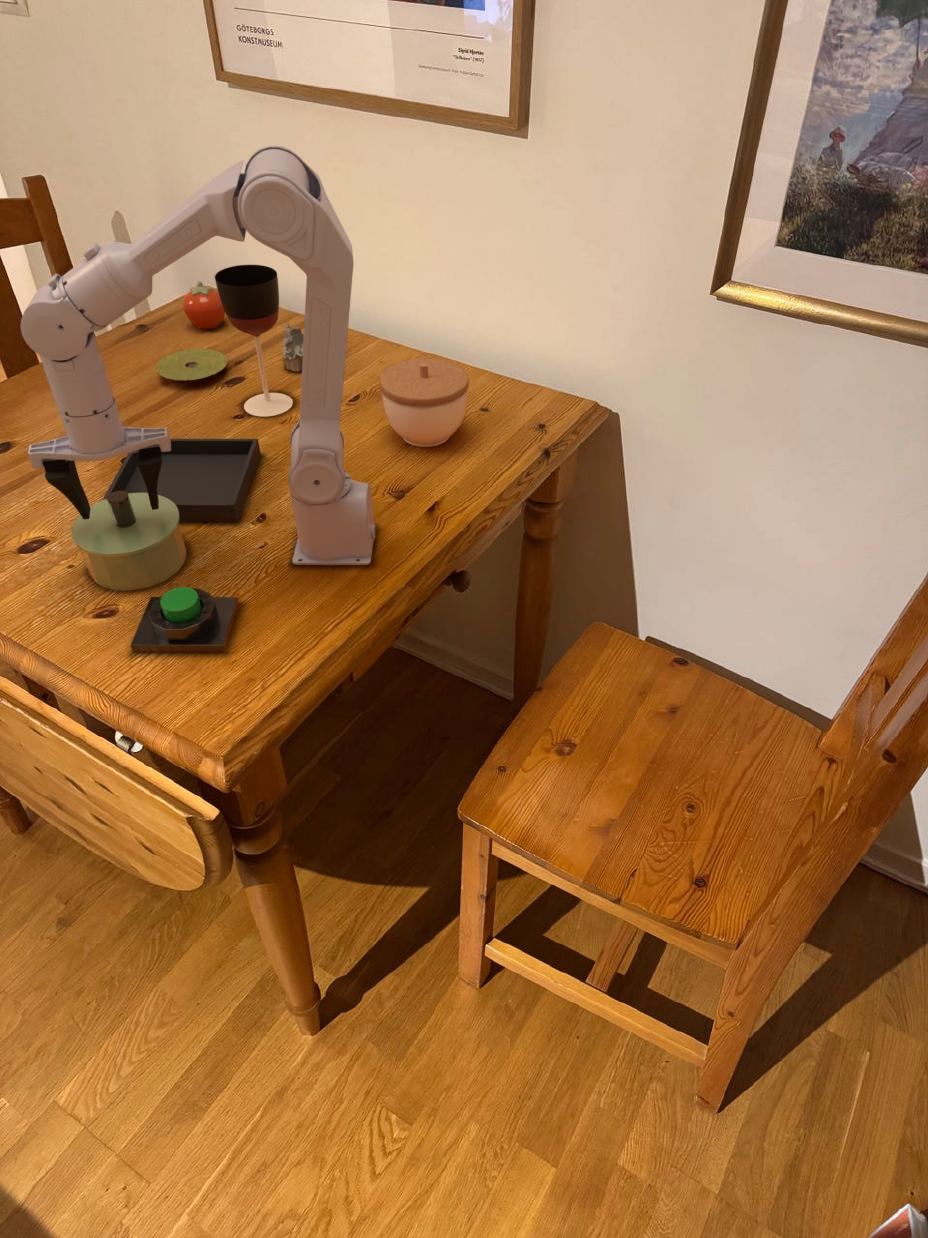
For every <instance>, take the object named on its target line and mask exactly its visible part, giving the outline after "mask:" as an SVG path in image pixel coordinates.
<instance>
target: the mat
mask: <svg viewBox="0 0 928 1238" xmlns="http://www.w3.org/2000/svg"><path fill="white" fill-rule="evenodd" d="M227 364H228V359H227V357H226V355H225V354H224V353H222V352H220V351H218V350H215V349H210V348H203V347H202V348H188V349H182V350H179V351H176V352H173V353H170V354H169V355H166V356H165V357H162V359H160V360H159V361H158V362H157V364H156V367H155V368H156V372H157V374H159V375H160V376H161V377H164V378H165V379H168V380H173V381H185V382H186V381H195V380H196V381H197V380H201V379H204V378H207V377H211V376H213V375H216V374H217V373H219V372H221V371H222V370H223V369H224V368H225V367H226V366H227Z"/></svg>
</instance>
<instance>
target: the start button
mask: <svg viewBox="0 0 928 1238" xmlns="http://www.w3.org/2000/svg"><path fill="white" fill-rule="evenodd" d="M191 588H192V587H188V586H187V587H186V586H180V587H175V588H172V589H169V590H168V591H166V592H165V593H164V594H162V595H163V596H162V595H161V596H162V598H161V600H160V604H161V607H162V610H163V614H164V616H165V618H166V619H167V620H169V621H171V622H185V621H188V620H191V619H193V618H195V617H196V616H197V615H198V614H199V612H200V610H201V604H200V601H199V597H198V594H197V592H196V591H195V590H193V589H191Z"/></svg>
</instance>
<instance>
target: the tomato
mask: <svg viewBox="0 0 928 1238" xmlns="http://www.w3.org/2000/svg"><path fill="white" fill-rule="evenodd" d="M189 290H190V291H188V292H187V293H185V296H184V297H183V299H182V309H183V312H184V315H185V316H186V317H187V319H188V320H189V321H190V322H191V323H192V324H193V325H194V326H195V327H196V328H198V329H200V330H206V331H207V330H213V329H216V328H217V327H220V324H222V322H223V320H224V318H225V316H226V313H225V311H224V308H223V306H222V303H221V300H220V296H219V293H218V289H214V288H213V287H212V286H209V285H206V284H203V282H202V281H201V280H198V281H197V282H196V285H195V286H193V287H190V289H189Z"/></svg>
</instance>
